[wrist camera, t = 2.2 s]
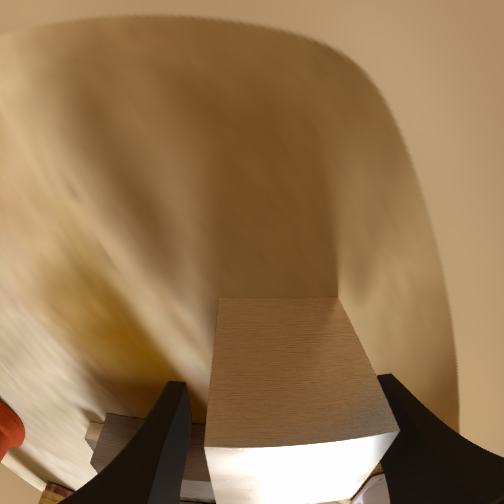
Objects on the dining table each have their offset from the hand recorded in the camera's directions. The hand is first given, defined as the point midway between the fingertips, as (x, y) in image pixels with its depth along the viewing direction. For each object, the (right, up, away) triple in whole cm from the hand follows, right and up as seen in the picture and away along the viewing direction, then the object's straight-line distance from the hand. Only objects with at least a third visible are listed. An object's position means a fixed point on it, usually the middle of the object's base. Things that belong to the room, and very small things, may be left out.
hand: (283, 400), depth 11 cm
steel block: (0, +1, +3) cm, 3 cm away
